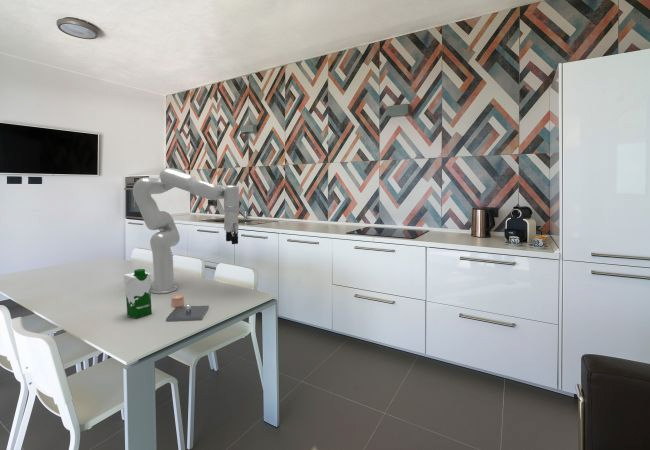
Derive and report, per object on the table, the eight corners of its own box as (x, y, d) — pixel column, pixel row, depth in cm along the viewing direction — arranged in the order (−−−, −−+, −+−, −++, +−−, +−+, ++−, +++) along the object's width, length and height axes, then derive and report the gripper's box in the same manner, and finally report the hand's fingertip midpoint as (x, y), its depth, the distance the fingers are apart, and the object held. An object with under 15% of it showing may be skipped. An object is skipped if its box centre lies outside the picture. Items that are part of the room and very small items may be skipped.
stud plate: (166, 321, 138) (165, 311, 137) (176, 309, 152) (176, 300, 151) (201, 320, 139) (201, 310, 139) (208, 308, 153) (208, 299, 153)
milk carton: (134, 320, 139) (131, 273, 136) (123, 315, 144) (120, 269, 142) (154, 313, 146) (152, 268, 144) (144, 309, 151) (141, 265, 149)
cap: (170, 307, 153) (169, 298, 153) (173, 303, 159) (173, 294, 158) (182, 307, 154) (181, 298, 154) (185, 303, 159) (185, 294, 159)
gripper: (219, 208, 177) (220, 240, 179) (229, 211, 162) (229, 245, 164) (233, 208, 181) (233, 239, 183) (244, 210, 166) (244, 244, 168)
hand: (231, 242), depth 173 cm, fingers open, 9 cm apart
